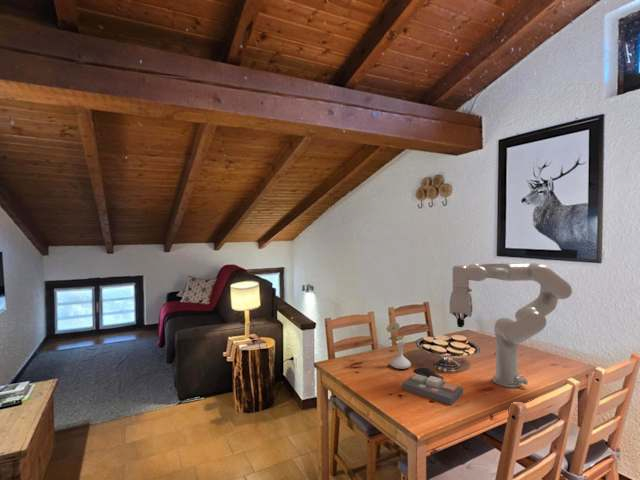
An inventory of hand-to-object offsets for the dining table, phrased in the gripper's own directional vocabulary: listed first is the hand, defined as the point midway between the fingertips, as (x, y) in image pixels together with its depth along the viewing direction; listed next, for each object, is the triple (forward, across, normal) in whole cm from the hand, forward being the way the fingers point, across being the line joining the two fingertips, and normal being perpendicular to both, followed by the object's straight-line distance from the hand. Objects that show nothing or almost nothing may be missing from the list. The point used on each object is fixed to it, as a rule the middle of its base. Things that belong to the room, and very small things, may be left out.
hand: (460, 326), depth 173 cm
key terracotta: (+26, -2, +19) cm, 32 cm away
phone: (+28, +15, +5) cm, 32 cm away
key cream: (+25, +5, +19) cm, 32 cm away
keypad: (+27, +6, +21) cm, 35 cm away
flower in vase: (+27, +32, +5) cm, 42 cm away
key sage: (+26, +13, +19) cm, 35 cm away
